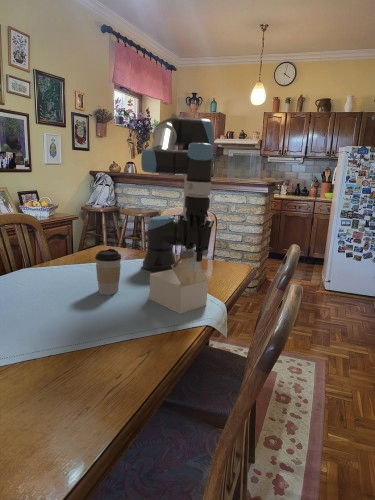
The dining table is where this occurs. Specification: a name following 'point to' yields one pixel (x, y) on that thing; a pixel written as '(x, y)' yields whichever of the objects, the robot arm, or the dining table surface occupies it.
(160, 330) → the dining table surface
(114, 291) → the coffee cup
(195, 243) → the robot arm
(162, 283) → the carton
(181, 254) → the drawer with bar handle
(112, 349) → the dining table surface
